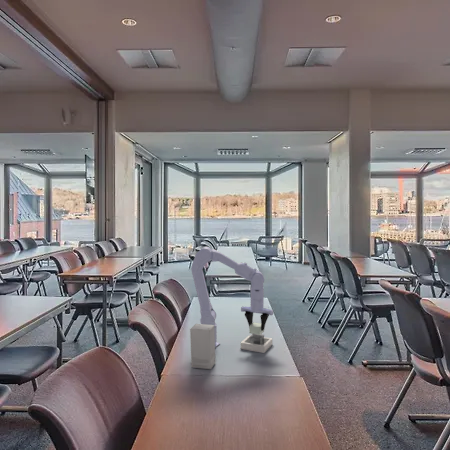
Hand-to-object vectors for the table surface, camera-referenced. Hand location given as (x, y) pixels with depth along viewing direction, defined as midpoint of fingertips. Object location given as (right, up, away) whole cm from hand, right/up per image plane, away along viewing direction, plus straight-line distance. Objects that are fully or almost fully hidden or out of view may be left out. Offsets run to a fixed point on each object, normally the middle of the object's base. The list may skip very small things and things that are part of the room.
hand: (256, 329), depth 167 cm
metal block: (0, -7, 0) cm, 7 cm away
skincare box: (-23, -9, -20) cm, 32 cm away
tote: (0, -8, 0) cm, 8 cm away
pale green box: (0, -1, 0) cm, 1 cm away
